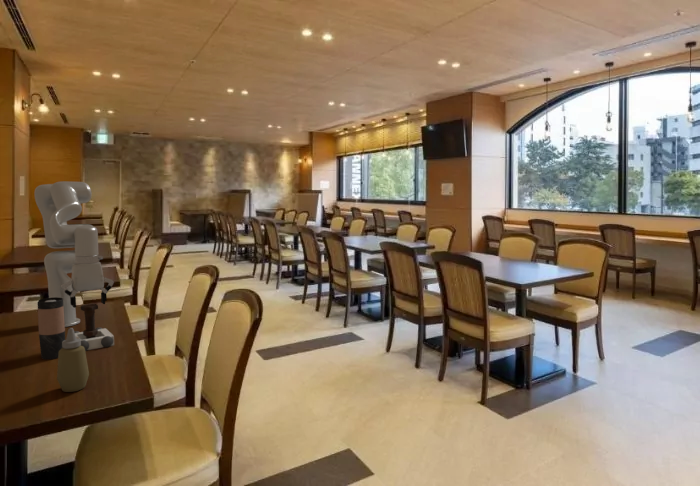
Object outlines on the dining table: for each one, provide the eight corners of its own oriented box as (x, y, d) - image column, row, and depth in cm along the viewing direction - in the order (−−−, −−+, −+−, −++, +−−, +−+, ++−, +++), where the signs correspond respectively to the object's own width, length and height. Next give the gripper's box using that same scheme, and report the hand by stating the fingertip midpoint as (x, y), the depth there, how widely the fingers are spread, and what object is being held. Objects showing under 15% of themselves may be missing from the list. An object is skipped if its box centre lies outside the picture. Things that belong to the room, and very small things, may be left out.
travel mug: (71, 353, 165) (68, 298, 163) (51, 361, 158) (48, 303, 156) (55, 351, 168) (52, 296, 166) (35, 358, 160) (31, 301, 158)
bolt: (90, 347, 172) (89, 307, 171) (79, 346, 174) (77, 306, 172) (102, 342, 178) (100, 303, 176) (91, 341, 179) (89, 302, 178)
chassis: (67, 342, 177) (67, 332, 177) (105, 336, 185) (105, 326, 185) (75, 353, 166) (74, 342, 165) (115, 345, 174) (114, 335, 174)
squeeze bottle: (66, 383, 140) (63, 324, 138) (94, 382, 141) (91, 324, 139) (51, 394, 132) (48, 332, 130) (81, 394, 133) (78, 332, 131)
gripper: (110, 256, 181) (111, 299, 183) (58, 260, 170) (60, 306, 172) (115, 259, 175) (116, 303, 177) (61, 263, 164) (63, 310, 166)
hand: (89, 305), depth 174 cm, fingers open, 9 cm apart
